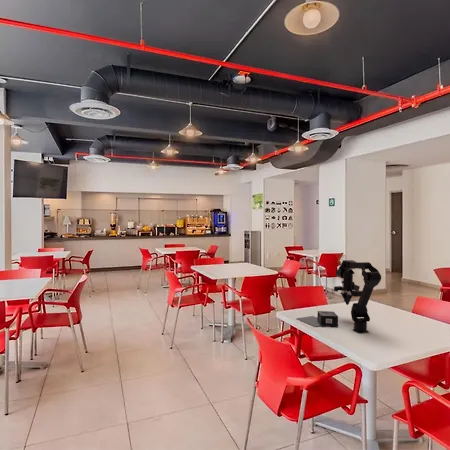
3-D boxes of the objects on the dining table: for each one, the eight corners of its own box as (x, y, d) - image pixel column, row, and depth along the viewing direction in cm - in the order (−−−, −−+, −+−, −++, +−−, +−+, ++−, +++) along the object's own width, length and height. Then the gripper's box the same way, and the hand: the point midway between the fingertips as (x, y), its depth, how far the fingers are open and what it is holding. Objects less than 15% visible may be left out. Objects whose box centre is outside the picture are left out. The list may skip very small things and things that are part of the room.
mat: (332, 324, 205) (332, 323, 205) (314, 327, 199) (314, 326, 199) (312, 316, 222) (312, 315, 222) (296, 319, 215) (296, 318, 215)
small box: (338, 326, 200) (334, 321, 210) (338, 316, 199) (334, 311, 210) (320, 326, 201) (317, 320, 211) (320, 315, 200) (317, 310, 211)
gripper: (369, 281, 202) (368, 306, 202) (345, 276, 219) (345, 300, 219) (356, 283, 197) (355, 308, 198) (333, 277, 214) (332, 301, 214)
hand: (347, 304), depth 207 cm, fingers closed
